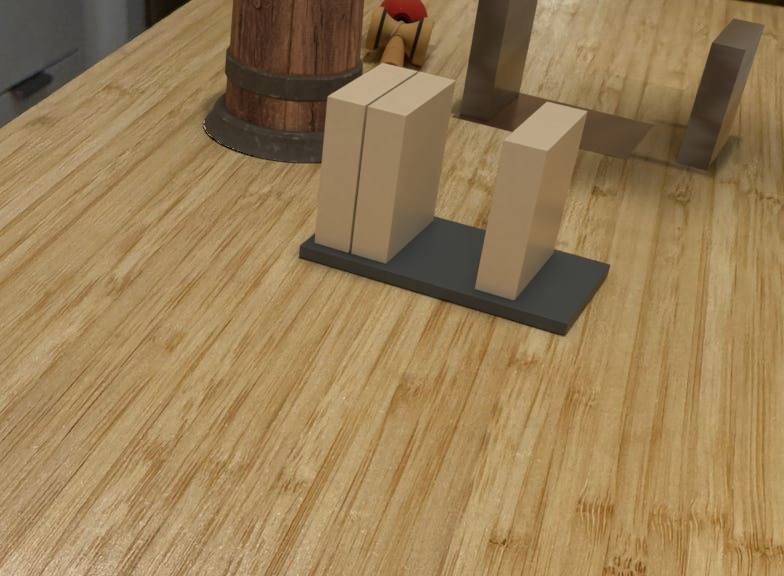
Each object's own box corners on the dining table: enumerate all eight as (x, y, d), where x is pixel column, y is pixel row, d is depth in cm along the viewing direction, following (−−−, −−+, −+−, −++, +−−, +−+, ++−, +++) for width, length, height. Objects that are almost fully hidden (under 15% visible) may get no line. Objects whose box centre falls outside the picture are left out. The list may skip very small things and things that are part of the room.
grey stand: (729, 153, 115) (772, 23, 107) (705, 190, 107) (749, 53, 99) (489, 95, 123) (512, -31, 114) (449, 126, 114) (471, -7, 106)
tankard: (352, 175, 103) (380, -81, 89) (176, 142, 105) (178, -113, 92) (406, 98, 120) (436, -128, 106) (253, 70, 122) (264, -153, 109)
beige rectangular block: (553, 253, 92) (587, 111, 84) (514, 301, 85) (547, 150, 78) (516, 243, 93) (546, 101, 85) (474, 289, 86) (503, 139, 78)
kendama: (428, 108, 122) (439, 35, 133) (426, 47, 117) (437, -23, 128) (357, 112, 123) (373, 40, 134) (351, 52, 118) (369, -18, 130)
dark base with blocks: (607, 275, 92) (650, 121, 84) (564, 336, 84) (607, 171, 76) (360, 207, 98) (378, 57, 90) (298, 257, 90) (311, 97, 82)
